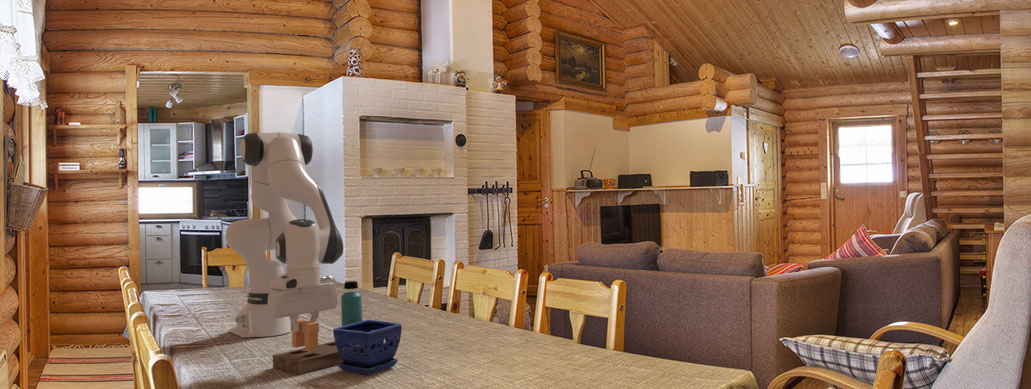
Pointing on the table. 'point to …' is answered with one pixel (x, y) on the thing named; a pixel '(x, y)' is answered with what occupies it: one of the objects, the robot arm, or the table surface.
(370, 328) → the flower pot
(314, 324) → the tan two-pronged block
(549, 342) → the table surface
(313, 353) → the block with square holes
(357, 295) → the beverage bottle
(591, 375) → the table surface
